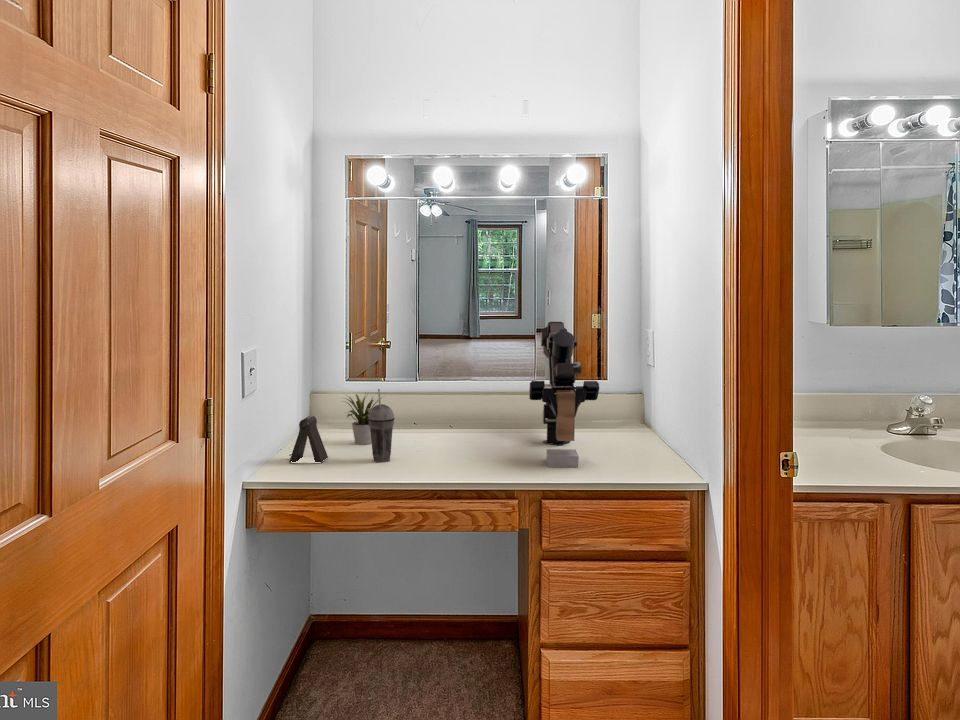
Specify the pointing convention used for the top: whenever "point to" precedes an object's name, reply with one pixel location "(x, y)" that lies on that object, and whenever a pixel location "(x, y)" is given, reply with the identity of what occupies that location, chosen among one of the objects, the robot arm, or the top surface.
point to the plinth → (562, 458)
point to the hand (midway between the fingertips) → (565, 415)
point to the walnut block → (565, 415)
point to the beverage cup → (381, 431)
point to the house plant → (361, 421)
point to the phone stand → (314, 441)
